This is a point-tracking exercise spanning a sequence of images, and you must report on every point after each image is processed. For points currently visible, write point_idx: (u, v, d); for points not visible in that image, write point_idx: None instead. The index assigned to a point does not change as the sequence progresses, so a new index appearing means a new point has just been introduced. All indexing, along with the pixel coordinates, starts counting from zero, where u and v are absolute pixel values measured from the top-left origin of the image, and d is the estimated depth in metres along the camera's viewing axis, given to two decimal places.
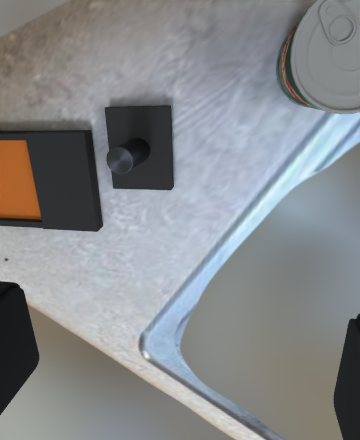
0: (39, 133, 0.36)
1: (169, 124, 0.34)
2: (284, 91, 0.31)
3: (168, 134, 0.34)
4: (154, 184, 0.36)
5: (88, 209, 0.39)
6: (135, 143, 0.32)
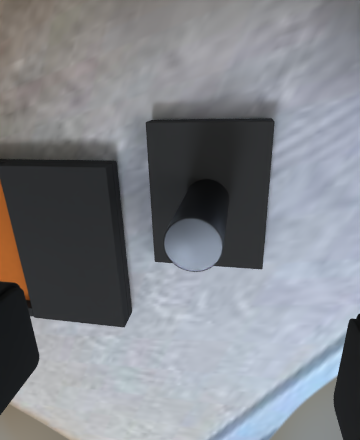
0: (23, 167, 0.20)
1: None
2: None
3: (268, 174, 0.18)
4: (230, 258, 0.20)
5: (110, 293, 0.23)
6: (214, 197, 0.16)
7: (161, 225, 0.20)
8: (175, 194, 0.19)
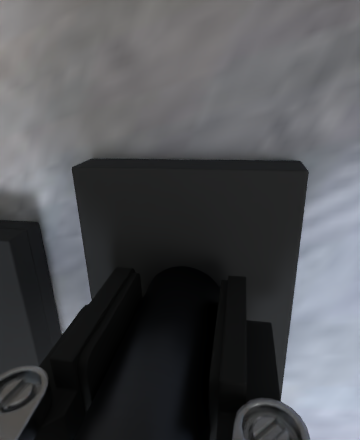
0: None
1: None
2: None
3: (294, 262, 0.10)
4: None
5: None
6: (189, 332, 0.08)
7: None
8: None
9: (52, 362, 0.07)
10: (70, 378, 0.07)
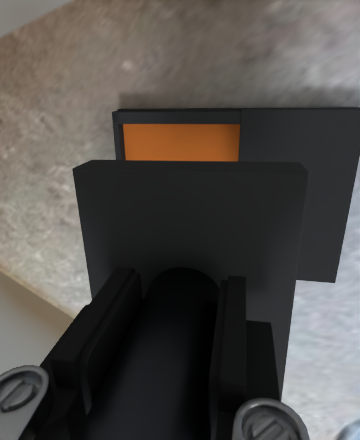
0: (272, 111, 0.20)
1: None
2: None
3: (294, 263, 0.10)
4: None
5: (330, 246, 0.22)
6: (190, 333, 0.08)
7: None
8: None
9: (53, 362, 0.07)
10: (70, 378, 0.07)
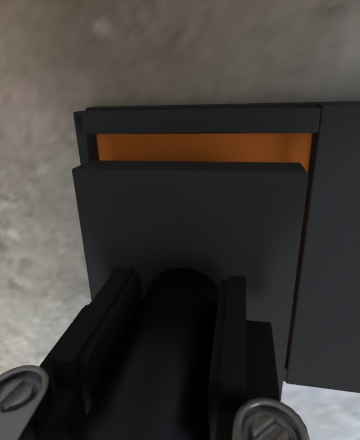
0: None
1: None
2: None
3: (294, 264, 0.10)
4: None
5: None
6: (189, 334, 0.08)
7: None
8: None
9: (52, 362, 0.07)
10: (70, 378, 0.07)
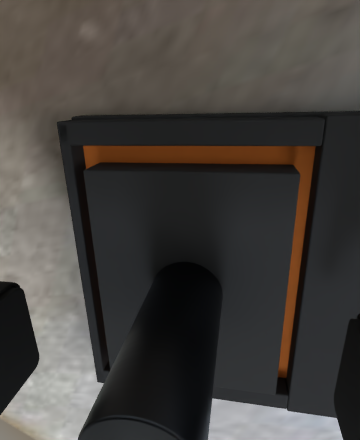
0: None
1: None
2: None
3: (288, 258, 0.11)
4: (226, 377, 0.13)
5: None
6: (192, 319, 0.09)
7: (116, 324, 0.13)
8: (136, 281, 0.12)
9: None
10: None
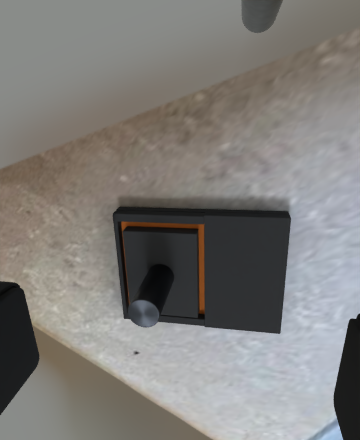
0: (225, 217, 0.28)
1: (197, 251, 0.30)
2: None
3: (196, 262, 0.30)
4: (177, 311, 0.32)
5: (274, 308, 0.30)
6: (159, 281, 0.28)
7: (133, 290, 0.32)
8: (141, 271, 0.31)
9: None
10: None
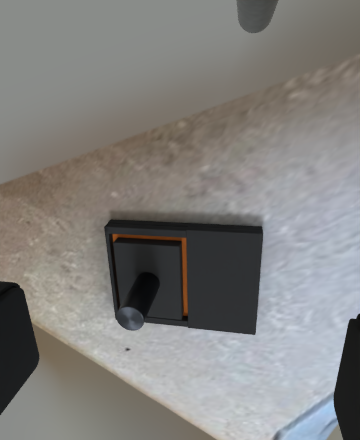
0: (205, 232, 0.31)
1: (180, 261, 0.33)
2: None
3: (179, 271, 0.33)
4: (163, 313, 0.35)
5: (249, 312, 0.34)
6: (145, 289, 0.31)
7: (123, 294, 0.35)
8: (130, 278, 0.34)
9: None
10: None
